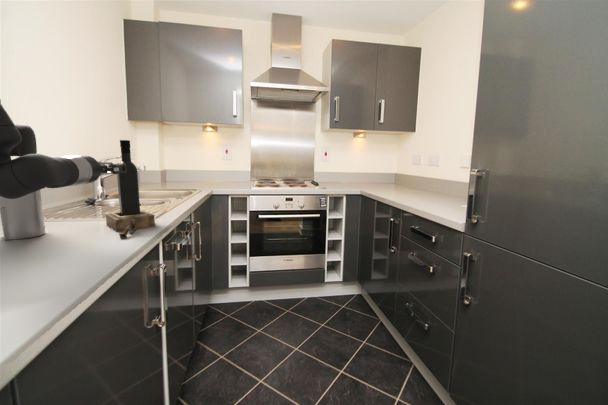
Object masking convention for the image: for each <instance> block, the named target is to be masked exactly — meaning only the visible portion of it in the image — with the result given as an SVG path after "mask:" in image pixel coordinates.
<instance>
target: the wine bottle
mask: <svg viewBox="0 0 608 405" xmlns="http://www.w3.org/2000/svg"><path fill="white" fill-rule="evenodd" d="M119 143H120V144H119V147H120V153H121V156H120V157H121V162H120V163H119V164H126V170H127V172H126V173H119V174H116V178H117V180H116V181H117V192H118V193H117V194H118V204H119V212H120V216H128V215H137V214H140V210H141V204H140V201H141V200H140V189H139V175H138V174H139V173H138V169H137V166H136V164H135V163H133V162H132V158H131V155H132V154H131V140H127V139H119Z"/></svg>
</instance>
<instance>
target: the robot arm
mask: <svg viewBox="0 0 608 405" xmlns="http://www.w3.org/2000/svg"><path fill="white" fill-rule="evenodd" d="M1 101H2V100H1V99H0V220H1V226H2V234H3V239H4V241H7V240H21V239H29V238H35V237H39V236H42V235H45V234H46V225H45V217H44V210H43V202H42V201H43V200H42V195H41V194H42V193H41V190H43V189H45V188H47V189H59V188H61V189H62V188H65V187H76V186H82V185H86V184H91V183H94V182H96V181H97V180H98V179H99V178H100V176H101V177H103V176H104V175H105V176H106V175H117V174H119V173H126V172H127V170H126V164H120V163H118V162H117V163H113V162H109V161H108V162H107V161H105V162H104V161H103V162H102V161H97V159H95V158H94V157H92V156H89V155H87V154H85V155H83V154H80V155H79V154H78V155H64V156H59V157H58V156H57V157H51V156H48V155H45V154H42V153H37V152H38V151H37V150H38V149H37V148H38V147H37V146H38V145H37V139H36V133H35V131H34V130H33V128H32V127H31V126H29V125H27V124H15V123H14V122H13V120H12V118H11V117H10V115H9V113H8V112H7V110H5V108H4V106H3V104H2V103H1ZM12 157H16V158H13V159H12Z"/></svg>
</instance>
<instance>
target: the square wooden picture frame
mask: <svg viewBox="0 0 608 405" xmlns="http://www.w3.org/2000/svg"><path fill="white" fill-rule="evenodd" d="M131 220H135V223H134V225H135V227H136V230H137V229H138V230H139V229H144V228H145V229H146V228H150V227H151V228H153V227H156V222H155V221H156V220H155V214H152V213H150V212H148V211H145V210H143V209H140V214H137V215H128V216H120V211H115V212H110V213H108V214H106V213H105V222H106V226H107V227H109V228H110V229H112V230H113V231H115V232H116V233H119V232H124V231H125V230H126V227H127V226H128V225H129V224H130V221H131ZM130 230H133V227H132V228H131V229H130Z"/></svg>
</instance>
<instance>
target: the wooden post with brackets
mask: <svg viewBox="0 0 608 405" xmlns="http://www.w3.org/2000/svg"><path fill="white" fill-rule="evenodd" d="M134 223H135V220H131V221H130V224H129V225H128V226H127V227H126V230H125V231H122V233H121V232H120V233H119V234H118V235H119V238H120V239H127V238H128V233H129V235H134V233H135V232H137V229H136V227H135V225H134ZM132 227H133V229H132V230H130V229H131V228H132Z"/></svg>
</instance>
